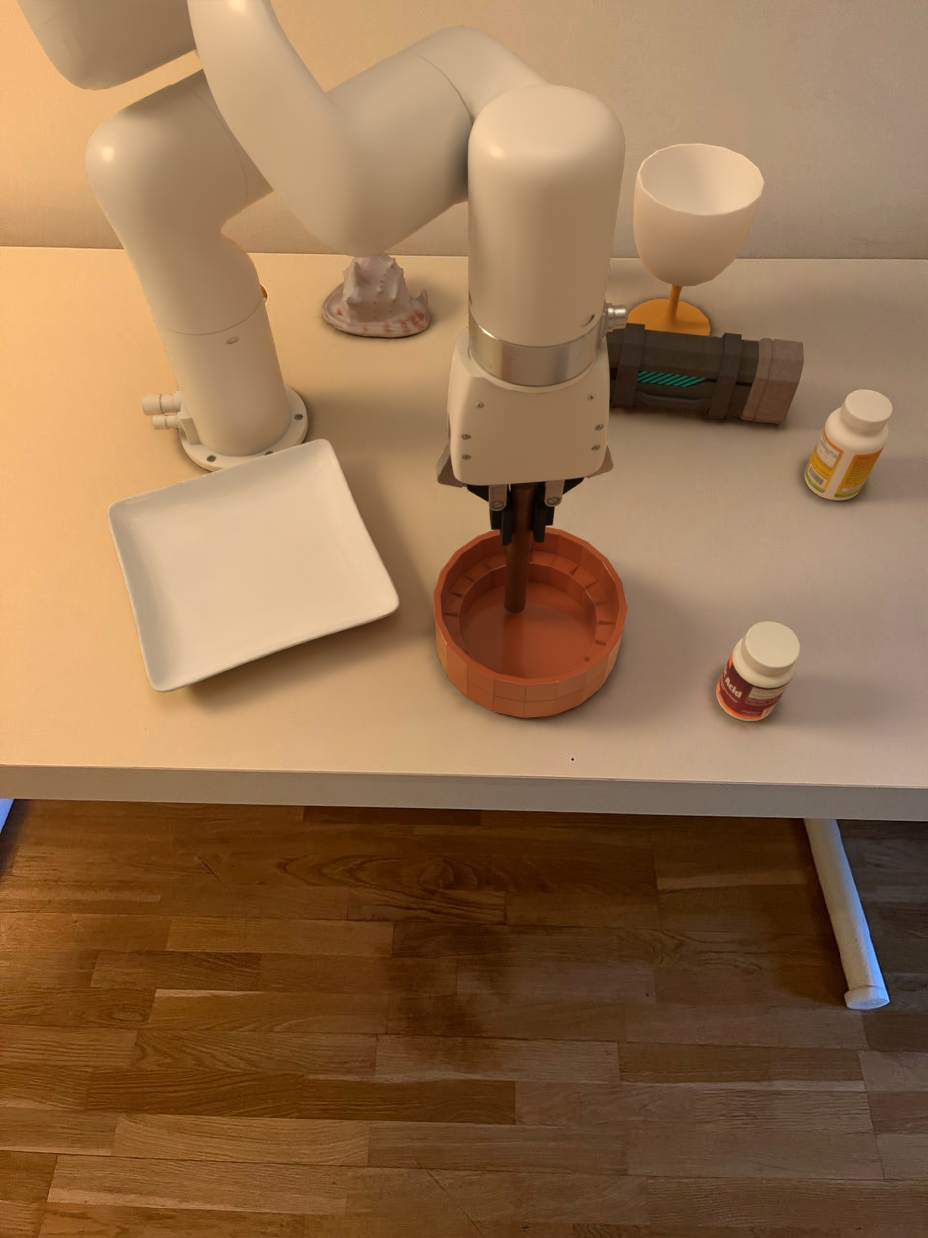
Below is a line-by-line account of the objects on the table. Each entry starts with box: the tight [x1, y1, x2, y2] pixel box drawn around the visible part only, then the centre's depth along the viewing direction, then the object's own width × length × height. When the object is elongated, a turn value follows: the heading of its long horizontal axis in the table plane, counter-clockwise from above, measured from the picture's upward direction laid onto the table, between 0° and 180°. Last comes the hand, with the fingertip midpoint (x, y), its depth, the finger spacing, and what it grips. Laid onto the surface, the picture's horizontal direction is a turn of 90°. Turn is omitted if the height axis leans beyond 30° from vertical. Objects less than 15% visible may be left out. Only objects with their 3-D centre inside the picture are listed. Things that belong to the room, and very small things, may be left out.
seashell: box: [321, 251, 431, 338], centre depth 96 cm, size 10×12×9 cm
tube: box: [605, 323, 805, 425], centre depth 89 cm, size 11×7×30 cm
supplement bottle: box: [804, 388, 894, 501], centre depth 82 cm, size 5×5×10 cm
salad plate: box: [106, 438, 401, 694], centre depth 79 cm, size 21×21×3 cm
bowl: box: [432, 526, 628, 719], centre depth 74 cm, size 15×15×6 cm
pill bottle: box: [715, 620, 801, 722], centre depth 70 cm, size 5×5×8 cm
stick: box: [504, 482, 536, 614], centre depth 69 cm, size 2×2×16 cm
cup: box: [626, 142, 766, 336], centre depth 91 cm, size 12×12×17 cm
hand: (520, 528), depth 67 cm, fingers closed on stick, 1 cm apart
